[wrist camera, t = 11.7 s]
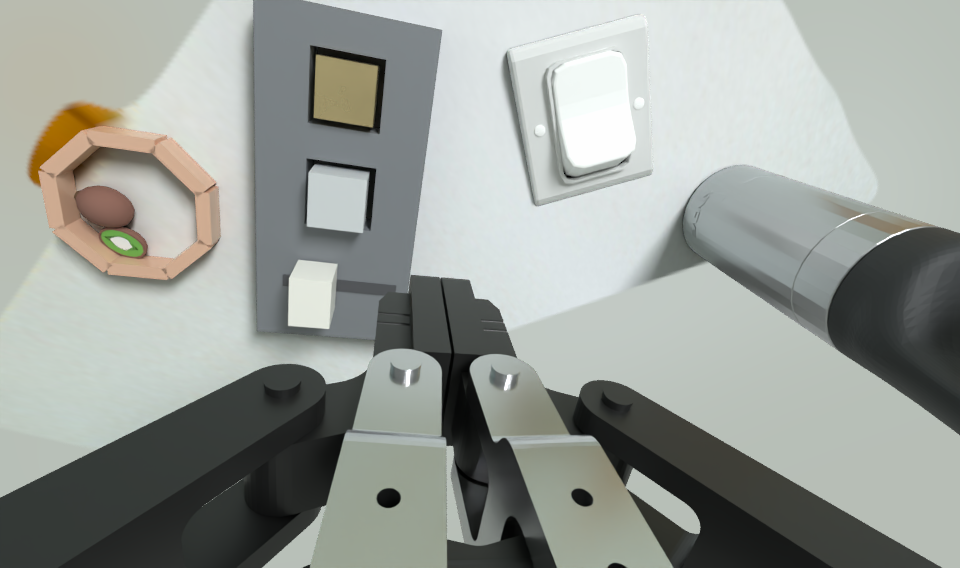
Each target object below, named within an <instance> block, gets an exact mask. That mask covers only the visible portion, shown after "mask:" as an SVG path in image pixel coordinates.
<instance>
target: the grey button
mask: <svg viewBox="0 0 960 568" xmlns="http://www.w3.org/2000/svg"><path fill="white" fill-rule="evenodd" d="M369 175H370V171H364V170H358V169H351V168H344V167H337V166H330V165H324V164H317V163H315V165H314V166H313V167H312V168H311V170H310V171H309V175H308V204H307V227H315V228H324V229H332V230H340V231H349V232H357V233H363V230H364V225H365V221H366V210H367V198H368V187H369Z"/></svg>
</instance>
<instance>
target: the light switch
mask: <svg viewBox="0 0 960 568" xmlns="http://www.w3.org/2000/svg"><path fill="white" fill-rule="evenodd" d="M507 59H508V64H509V70H510V76H511V81H512V87H513V92H514V97H515V103H516V108H517V113H518V118H519V124H520V129H521V134H522V140H523V145H524V150H525V155H526V161H527V166H528V171H529V176H530V182H531V187H532V192H533V198H534V203H535V205H536V206H540V205H543V204H547V203H551V202H554V201H558V200H561V199H565V198H569V197H572V196H576V195H579V194H583V193H587V192H590V191H594V190H598V189H601V188H605V187H608V186H612V185H616V184H619V183H623V182H626V181H630V180H634V179H637V178H641V177H644V176H648V175H650V174H652V171H653V168H654V166H653V141H652V116H651V91H650V66H649V41H648V24H647V21H646V17H645V16H644V15H642V14H638V15H634V16H631V17H627V18H623V19H619V20H616V21H612V22H608V23H605V24H601V25H597V26H593V27H590V28H586V29H582V30H578V31H575V32H571V33H567V34H563V35H560V36H556V37H552V38H549V39H545V40H541V41H537V42H534V43H530V44H526V45H522V46H519V47H515V48H511V49H509V50H508V51H507ZM625 158H626V159H625ZM624 159H625V161H624V162H622V161H623V160H624ZM620 162H622V163H621V164H620V165H618V164H619V163H620ZM616 165H618V166H616ZM613 166H614V167H613ZM610 167H611V168H610ZM606 168H607V169H606ZM563 170H564V172H565V173H566V175H569V176H576V177H574V178H568V177H566V176H565V175H564V172H563ZM599 170H600V171H599ZM595 171H596V172H595ZM588 173H589V174H588ZM584 174H585V175H584ZM581 175H582V176H581ZM577 176H578V177H577Z"/></svg>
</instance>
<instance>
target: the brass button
mask: <svg viewBox="0 0 960 568" xmlns="http://www.w3.org/2000/svg"><path fill="white" fill-rule="evenodd" d="M379 68H380V65H374V64H369V63H364V62H359V61H354V60H348V59H343V58H338V57H333V56H328V55H316V68H315V96H314V118H318V119H324V120H330V121H336V122H342V123H348V124H355V125H361V126H367V127H373V125H374V123H375V114H376V103H377V91H378V80H379Z"/></svg>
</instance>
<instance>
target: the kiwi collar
mask: <svg viewBox="0 0 960 568" xmlns="http://www.w3.org/2000/svg"><path fill="white" fill-rule="evenodd" d="M101 146H103V147H110V148H117V149H124V150H131V151H138V152H145V153H152V154H153V155H154V156H155V157H156V158H157V159H158V160H159V161H161V162H162V163H163V164H164V165H165V166H166V167H167V168H168V169H169V170H170V171H171V172H172V173H173V174H174V175H175V176H176V177H177V178H178V179H179V180H180V181H181V182H182V183H183V184H184V185H186V186H187V187H188V188H189V189H190V190H191V191H192V192H193V193H194V194H195V205H196V221H197V237H198V240H197V241H196V242H195V243H193V244H192V245H191V246H190V247H188V248H187V249H186V250H184V251H183V252H182V253H181V254H179V255H178V256H177V257H176V258H174V259H173V258H163V257H153V256H143V257H141V258H129V257H125V256H122V255H120V254H117V253H115V252H113V251H112V250H110V249H109V248H107V247H106V246H105V245H104V244H103V243H102V242H101V240H100V239H99V235H98V234H99V233H98V232H97V231H95V230H94V229H93V228H92V227H91V226H89V225H88V224H87V223H86V222H85V221H83V220H82V219H81V217H80V211H79V210H78V208H77V204H76V201H75V199H74V195H75V193H76V187H75V181H74V174H73V170H74V169H75V168H76V167H77V166H79V165H80V164H81V163H82V162H83V161H84V160H86V159H87V158H88V157H89V156H90V155H91V154H93V153H94V152H95V151H96V150H97V149H98V148H100V147H101ZM40 168H41V169H42V170H41V171H38V172H39V177H40V182H41V187H42V192H43V197H44V202H45V208H46V213H47V218H48V223H49V227H50V228H55V230H54V231H53V233H54V234H55V235H57V236H58V237H59V238H60V239H62V240H63V241H64V242H65V243H67V244H68V245H69V246H70V247H72V248H73V249H74V250H75V251H77V252H78V253H79V254H80V255H82V256H83V257H84V258H85V259H87V260H88V261H89V262H91V263H92V264H93V265H94V266H96V267H97V268H98V269H99V270H101V271H102V272H103V273H104V272H105V271H106V270H107V271H108V275H119V276H130V277H140V278H151V279H162V280H168V279H169V278H171V279H172V278H174V277H175V276H176V275H178V274H179V273H180V272H181V271H183V270H184V269H185V268H187V267H188V266H189V265H190V264H192V263H193V262H194V261H196V260H197V259H198V258H199V257H201V256H202V255H203V254H205V253H206V252H207V251H208V250H210V249H211V248H212V247H213V246H214V245H215V244H216V243H217V242H218V241H219V238H220V237H221V235H220V212H219V189H218V187H217V186H213V185H214V184H215V183H216V182H215V181H214V180H213V179H212V178H211V177H210V176H209V175H208V174H207V173H206V172H205V171H204V170H203V169H202V168H201V167H200V166H199V165H198V164H197V163H196V162H195V161H194V160H193V159H192V158H191V157H190V156H189V155H188V154H187V153H186V152H185V151H184V150H183V149H182V148H181V147H180V146H179V145H178V144H177V143H176V142H175V141H174V140H173V139H172V138H169V139H167V135H161V134H154V133H148V132H141V131H134V130H128V129H121V128H114V127H107V126H100V127H95V128H91V129H87V130H83V131H81V132H79V133H78V134H77V135H76V136H75V137H74V138H73V139H71V140H70V141H69V142H68V143H67V144H66V145H65V146H63V147H62V148H61V149H60V150H59V151H58V152H56V153H55V154H54V155H53V156H52V157H51V158H50V159H48V160H47V161H46V162H45V163H44V164H43V165H42V166H40Z"/></svg>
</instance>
